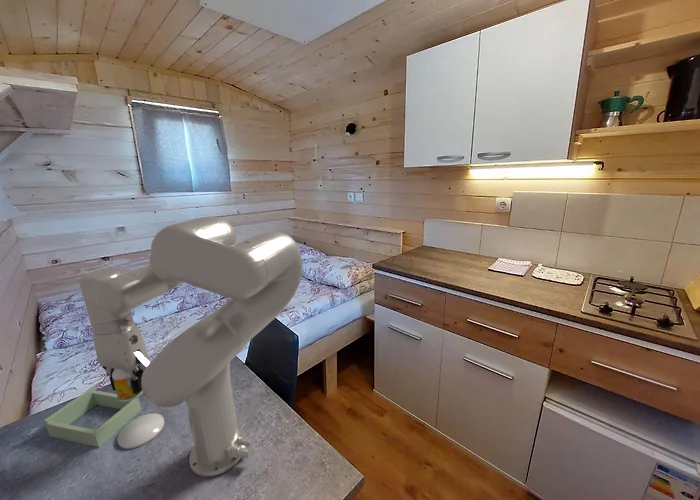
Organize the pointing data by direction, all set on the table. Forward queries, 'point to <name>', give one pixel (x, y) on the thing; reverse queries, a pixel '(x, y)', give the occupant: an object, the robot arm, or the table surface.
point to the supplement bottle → (124, 385)
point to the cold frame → (80, 405)
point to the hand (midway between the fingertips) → (129, 387)
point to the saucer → (140, 431)
